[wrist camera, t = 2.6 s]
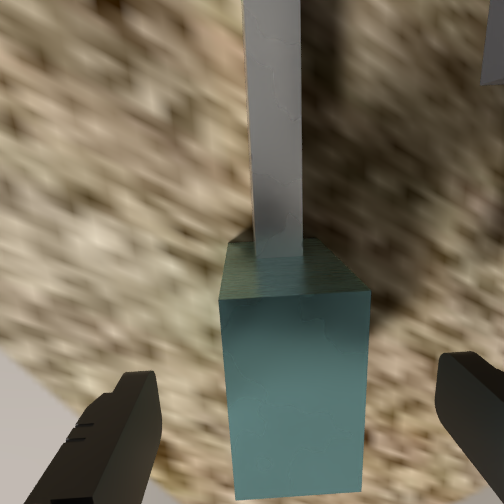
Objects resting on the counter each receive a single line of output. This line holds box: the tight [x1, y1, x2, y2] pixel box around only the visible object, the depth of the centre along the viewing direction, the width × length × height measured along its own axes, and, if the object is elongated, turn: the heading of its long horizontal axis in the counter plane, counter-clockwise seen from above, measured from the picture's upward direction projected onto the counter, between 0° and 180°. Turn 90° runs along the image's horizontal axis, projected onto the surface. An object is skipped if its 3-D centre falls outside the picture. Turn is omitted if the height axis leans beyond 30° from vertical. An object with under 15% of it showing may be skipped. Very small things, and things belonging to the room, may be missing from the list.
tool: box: [219, 0, 371, 500], centre depth 9 cm, size 16×4×6 cm, turn 3°
